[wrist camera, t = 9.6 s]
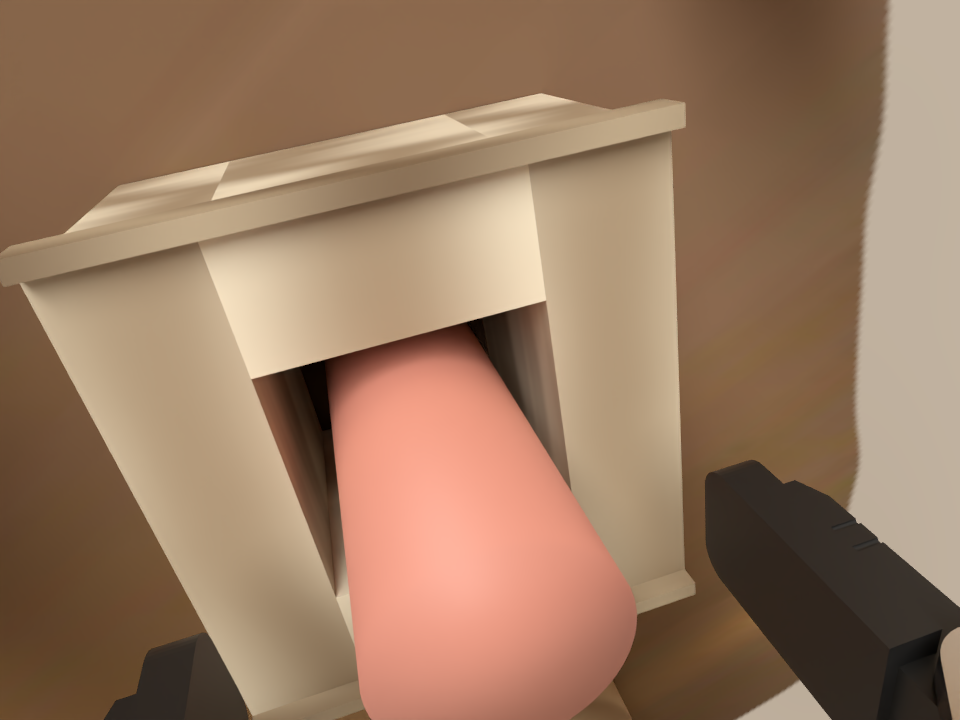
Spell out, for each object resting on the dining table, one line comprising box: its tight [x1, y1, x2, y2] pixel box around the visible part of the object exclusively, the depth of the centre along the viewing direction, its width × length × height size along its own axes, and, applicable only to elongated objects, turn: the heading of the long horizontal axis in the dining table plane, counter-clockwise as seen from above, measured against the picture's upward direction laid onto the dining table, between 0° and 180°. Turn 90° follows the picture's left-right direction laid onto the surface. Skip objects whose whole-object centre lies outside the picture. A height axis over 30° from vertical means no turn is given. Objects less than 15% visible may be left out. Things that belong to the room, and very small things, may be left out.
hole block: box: [0, 93, 695, 720], centre depth 16 cm, size 11×12×8 cm
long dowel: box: [325, 322, 637, 720], centre depth 14 cm, size 4×4×12 cm
